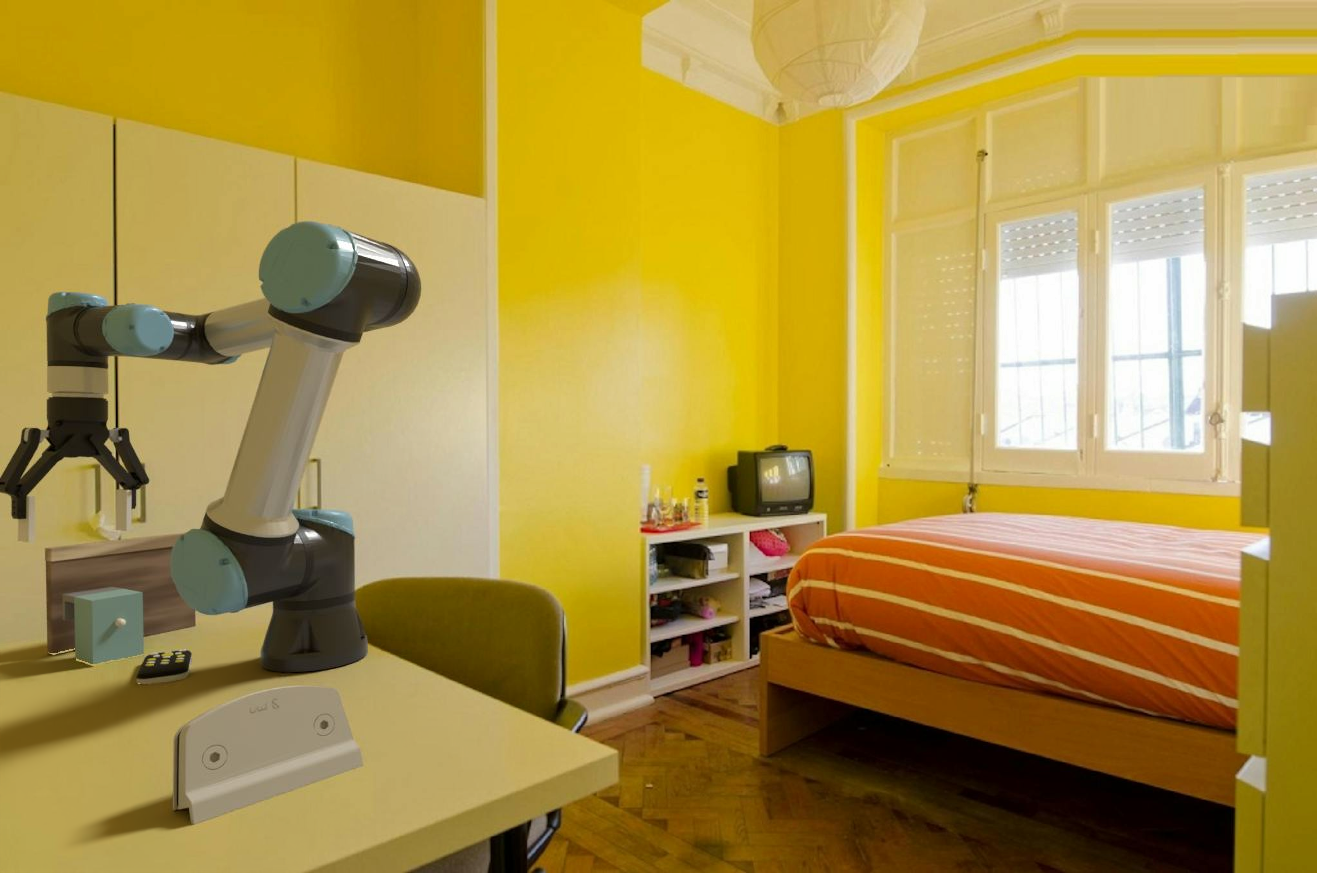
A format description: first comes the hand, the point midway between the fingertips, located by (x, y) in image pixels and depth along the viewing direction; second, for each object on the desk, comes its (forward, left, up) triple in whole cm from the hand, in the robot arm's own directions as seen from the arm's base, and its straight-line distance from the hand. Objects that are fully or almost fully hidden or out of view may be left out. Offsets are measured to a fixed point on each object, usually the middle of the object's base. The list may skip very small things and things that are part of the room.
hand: (77, 535), depth 120 cm
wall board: (+10, -11, -20) cm, 25 cm away
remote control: (-15, -5, -20) cm, 26 cm away
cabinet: (+1, -4, -20) cm, 20 cm away
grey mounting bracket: (-64, +9, -20) cm, 68 cm away
